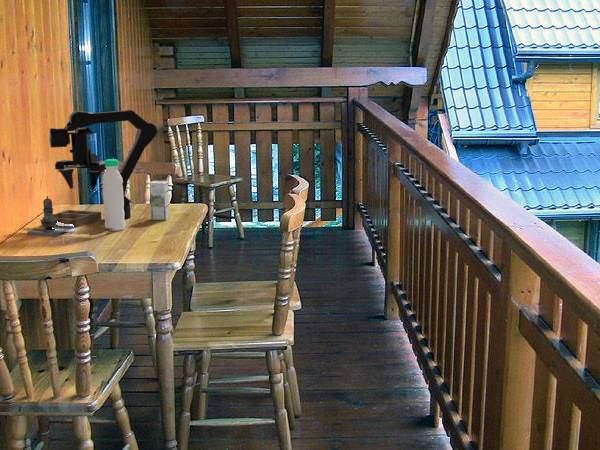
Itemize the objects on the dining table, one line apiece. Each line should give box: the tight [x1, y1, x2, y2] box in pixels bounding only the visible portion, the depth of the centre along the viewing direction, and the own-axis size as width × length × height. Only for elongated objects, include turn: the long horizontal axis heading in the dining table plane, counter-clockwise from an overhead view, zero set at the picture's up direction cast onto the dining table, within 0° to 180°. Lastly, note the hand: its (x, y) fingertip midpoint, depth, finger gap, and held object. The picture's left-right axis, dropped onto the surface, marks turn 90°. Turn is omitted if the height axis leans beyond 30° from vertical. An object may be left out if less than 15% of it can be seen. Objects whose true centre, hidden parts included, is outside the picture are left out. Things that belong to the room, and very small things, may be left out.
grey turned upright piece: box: [39, 195, 57, 232], centre depth 289 cm, size 6×6×12 cm
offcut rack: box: [41, 209, 102, 228], centre depth 303 cm, size 14×16×4 cm
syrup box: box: [149, 180, 170, 221], centre depth 312 cm, size 6×6×14 cm
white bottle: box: [101, 158, 126, 232], centre depth 293 cm, size 7×7×25 cm
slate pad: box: [26, 229, 68, 237], centre depth 290 cm, size 12×8×1 cm
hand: (82, 189), depth 303 cm, fingers open, 9 cm apart
